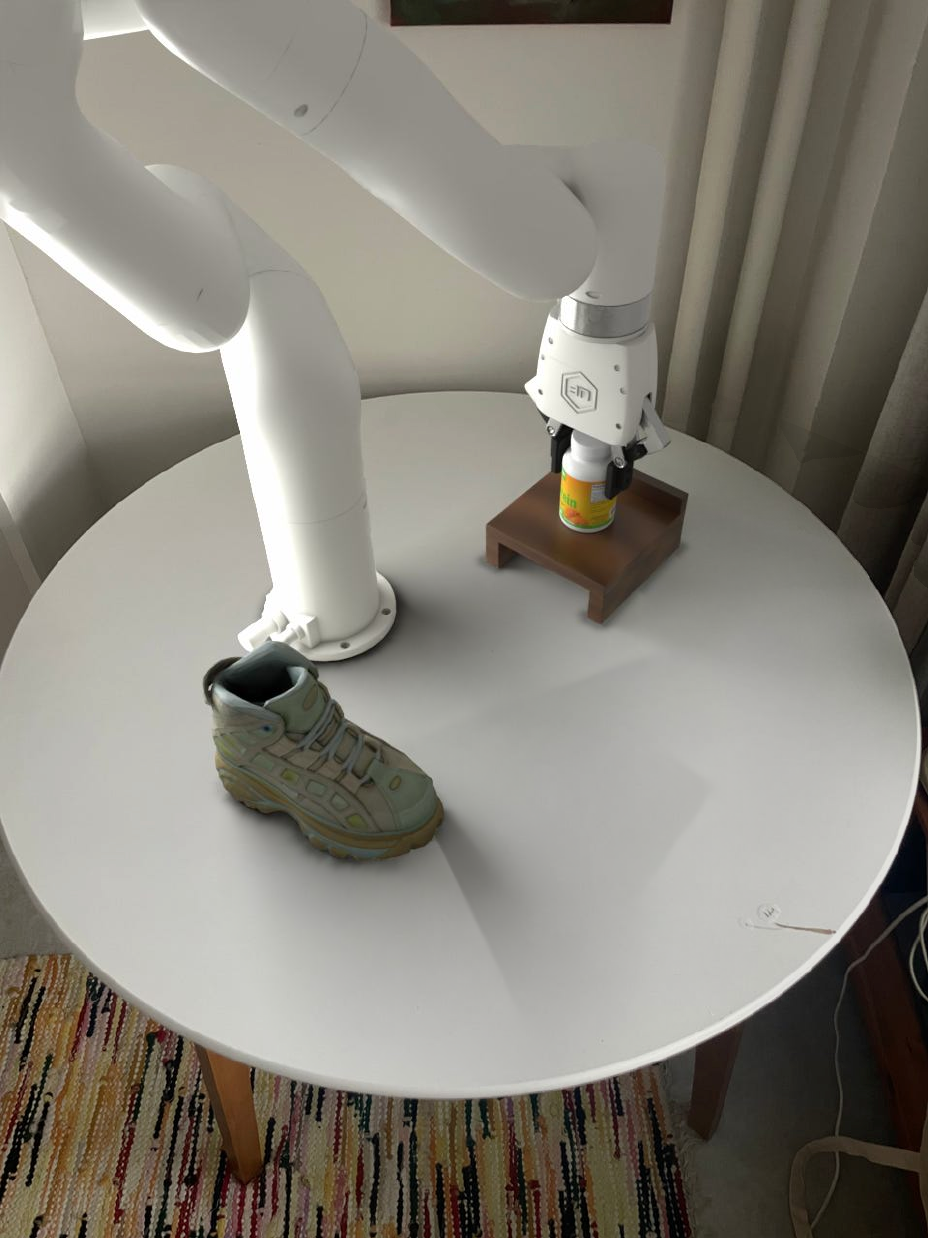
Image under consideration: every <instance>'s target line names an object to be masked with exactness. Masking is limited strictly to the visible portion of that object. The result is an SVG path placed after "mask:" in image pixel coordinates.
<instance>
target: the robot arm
mask: <svg viewBox="0 0 928 1238" xmlns="http://www.w3.org/2000/svg"><path fill="white" fill-rule="evenodd" d="M148 30H149V31H150V32H151V35H153V36H154V37H155V39H157V41H158V42H160V43H161V44H162V45H163V46H164V47H165V48H166V49H167V50H168V51H170V52H171V53H172V54H173V55H175V56H176V57H178V58H179V59H180V60H182V62H184V63H186V64H187V65H189V66H190V67H191V68H193V69H195V70H196V71H197V72H199V73H201V75H203V76H205V77H206V78H208V79H210V80H211V81H213V83H215V84H217V85H218V86H220V87H221V88H223V89H224V90H225V91H227V92H229V93H231V94H232V95H234V96H235V97H236V98H237V99H239V100H241V101H243V102H244V103H246V104H247V105H249V106H250V107H251V108H253V109H255V110H256V111H258V112H259V113H261V114H262V115H264V116H265V117H266V118H267V119H269V120H271V121H273V122H274V123H275V124H277V125H279V126H280V127H281V128H283V129H284V130H286V131H287V132H289V133H290V134H292V135H294V136H295V137H296V138H298V139H299V140H301V141H302V142H304V143H305V144H307V145H308V146H310V147H311V148H312V149H314V150H316V151H317V152H318V153H320V154H321V155H323V156H324V157H326V158H327V159H329V160H330V161H331V162H332V163H334V164H335V165H337V166H338V167H339V168H340V169H342V170H343V171H344V172H345V173H346V174H347V175H348V176H349V177H351V178H352V179H353V180H354V181H355V182H356V183H357V184H358V185H360V186H361V187H362V188H363V189H364V190H366V191H367V192H368V193H370V194H371V195H372V196H374V197H375V198H377V199H378V200H379V201H381V202H382V203H383V204H384V205H386V206H388V207H389V208H390V209H391V210H393V211H394V212H396V213H397V214H398V215H399V216H401V218H403V219H404V220H406V221H407V222H408V223H409V224H410V225H411V226H412V227H415V229H417V230H418V231H419V232H420V233H421V234H422V235H424V236H425V237H426V238H428V239H429V240H430V241H431V242H433V243H434V244H435V245H437V246H438V247H439V248H441V250H443V251H445V252H446V253H447V254H448V255H450V256H451V257H453V258H454V259H456V260H457V261H458V262H460V263H461V264H463V265H464V266H466V267H467V268H469V269H470V270H472V271H473V272H475V273H477V275H478V274H479V275H480V276H481V277H483V278H484V279H486V280H487V281H489V282H490V283H492V284H493V285H495V286H496V287H498V288H500V289H501V290H502V291H505V292H506V293H508V294H510V295H511V296H513V297H516V298H518V299H520V300H523V301H527V302H530V303H531V302H532V303H542V304H543V303H552V302H555V301H557V304H555V305H554V306H552V308H551V309H550V310H549V313H548V316H547V319H546V324H545V327H544V331H543V335H542V339H541V344H540V348H539V355H538V362H537V369H536V375H535V376H534V377H533V378H531V379H530V380H529V381H527V382H526V383H525V384H524V390H525V391H526V393H527V394H528V395H529V397H530V398H531V400H532V401H533V403H534V404H535V405H536V409H537V412H538V413H539V415H540V416H541V418H542V419H543V421H544V422H545V424H546V426H545V431H546V434H547V435H548V436H550V458H551V463H550V471H551V472H553V473H555V474H557V473H560V472H561V471H562V462H563V456H564V453H565V451H566V450H567V449H568V448H569V447H570V446H571V438H572V432H573V430H574V429H576V430H578V431H580V432H583V433H585V434H587V435H589V436H591V437H594V438H596V439H598V440H600V441H603V442H605V443H608V444H610V447H611V452H612V456H613V460H612V461H611V462H610V463H609V464H608V466H607V473H606V483H605V493H604V495H605V497H606V498H607V499H609V500H612V499H613V498H614V497H615V496H617V495H618V494H619V493H620V492H621V491H625V490H626V489H627V488H628V487H629V486H630V484H631V482H632V475H633V468H635V467H634V466H635V462H636V461H638V460H640V459H642V458H644V457H645V456H650V455H653V454H656V453H658V452H662V451H663V450H664V449H665V448H666V447H668V446H669V445H670V444H671V441H672V439H671V436H670V435H669V433H668V431H667V429H666V428H665V426H664V424H663V421H662V420H661V418H660V415H658V413H657V410H656V403H657V390H658V372H659V371H658V370H659V369H658V367H659V365H658V363H659V361H658V360H659V359H658V342H657V341H658V340H657V332H656V325H655V324H654V323H653V322H652V321H650V319H651V318H650V317H651V308H652V300H653V292H654V286H655V285H654V284H655V276H656V268H657V260H658V252H659V243H660V236H661V235H660V234H661V227H662V217H663V211H664V210H663V209H664V204H665V203H664V201H665V194H666V185H667V172H668V171H667V165H666V161H665V159H664V157H663V155H662V154H661V152H660V151H659V150H658V149H656V148H655V147H654V146H652V145H651V144H649V143H648V142H645V141H642V140H638V139H633V138H628V137H603V138H598V139H594V140H590V141H587V142H585V143H583V144H580V145H567V146H566V145H538V144H519V143H518V144H517V143H516V144H515V143H513V144H503V143H501V141H499V139H497V138H496V137H495V136H494V135H492V133H490V132H489V131H488V130H487V129H486V128H485V127H484V126H483V125H482V124H481V123H480V122H479V121H477V120H476V118H475V117H474V116H473V115H472V114H471V113H469V111H468V110H467V109H466V108H464V106H462V104H461V103H460V102H459V101H458V100H457V98H455V97H454V95H453V94H452V93H451V92H450V91H449V89H448V88H447V87H446V86H445V85H444V83H443V82H442V81H441V80H440V79H439V77H437V75H436V74H435V73H434V71H432V70H431V68H430V67H429V66H428V65H427V64H426V63H425V62H424V61H423V60H422V59H421V58H420V57H419V56H418V55H417V54H416V53H415V52H414V51H412V49H411V48H410V47H409V46H407V45H406V44H405V43H404V42H403V41H402V40H401V39H400V38H399V37H398V36H397V35H396V34H394V33H392V32H391V31H390V30H389V29H387V28H386V27H384V26H383V25H382V24H381V23H379V22H378V21H377V20H375V19H374V18H373V17H372V16H371V15H369V14H368V13H367V12H366V11H364V10H363V9H362V8H360V7H358V6H357V5H356V4H354V3H353V2H352V1H351V0H0V219H1V220H2V221H3V222H4V223H6V224H7V225H9V226H10V227H11V228H12V229H14V230H15V231H17V232H18V233H19V234H20V235H21V236H23V237H24V238H26V239H27V240H28V241H30V242H31V243H32V244H33V245H35V246H36V247H38V248H39V249H40V250H41V251H42V252H44V253H45V254H46V255H47V256H49V257H50V258H51V259H52V260H53V261H54V262H56V263H57V264H58V265H59V266H60V267H62V268H63V269H64V270H65V271H67V273H69V274H70V275H71V276H73V277H74V278H75V279H77V280H78V281H79V282H80V283H82V284H83V285H84V286H85V287H86V288H88V289H89V290H91V291H93V293H94V294H96V295H97V296H98V297H100V298H101V299H102V300H104V301H105V302H106V303H108V305H110V306H111V307H113V308H114V309H115V310H116V311H118V312H119V313H120V314H122V316H124V317H125V318H126V319H128V320H129V321H130V322H132V323H133V324H134V325H135V326H136V327H138V328H139V329H140V330H141V331H143V332H144V333H145V334H146V335H148V336H150V337H151V338H153V340H154V339H155V340H156V341H158V342H159V343H161V344H163V345H164V346H167V347H169V348H172V349H175V350H178V351H180V352H187V353H194V354H200V353H210V352H214V351H216V350H220V354H221V360H222V364H223V368H224V371H225V376H226V380H227V383H228V386H229V391H230V395H231V398H232V403H233V408H234V411H235V415H236V416H235V417H236V419H237V420H236V421H237V424H238V428H239V431H240V436H241V437H240V438H241V441H242V446H243V453H244V456H245V462H246V465H247V471H248V476H249V480H250V484H251V489H252V494H253V499H254V501H255V505H256V509H257V514H258V519H259V523H260V528H261V529H260V530H261V532H262V537H263V542H264V546H265V551H266V556H267V561H268V565H269V570H270V574H271V579H272V583H273V588H272V589H271V591H270V593H268V594H267V595H265V598H266V601H265V603H264V607H263V608H264V609H263V612H262V613H261V618H260V619H259V620H257V621H256V622H255V623H252V624H251V625H249V626H247V628H245V629H244V630H242V631H241V632H240V633H238V635H237V638H238V641H239V643H240V645H241V646H242V647H243V648H244V649H245V650H246V651H248V652H249V653H250V652H251V651H253V650H254V649H256V648H257V647H259V646H260V645H261V644H263V643H265V642H267V639H268V638H271V640H276V641H280V642H283V643H286V644H288V645H289V646H291V647H292V648H294V649H295V650H297V651H298V652H300V653H301V654H302V655H304V656H305V657H306V658H307V659H308V660H309V661H315V662H329V661H330V662H331V661H340V660H344V659H349V658H352V657H355V656H357V655H360V654H363V653H364V652H366V651H368V650H369V649H372V648H373V647H374V646H376V645H377V644H378V643H380V642H381V641H382V640H383V639H384V638H385V636H386V635H387V634H388V633H389V632H390V630H391V628H392V626H393V624H394V622H395V619H396V616H397V600H396V594H395V591H394V589H393V587H392V585H391V583H390V582H389V581H388V580H387V578H386V577H385V576H383V575H382V574H381V573H379V572H378V571H377V567H376V559H375V551H374V550H375V549H374V541H373V533H372V525H371V516H370V515H371V514H370V507H369V499H368V490H367V489H368V488H367V481H366V480H367V479H366V475H365V466H364V465H365V464H364V457H363V447H362V446H363V445H362V393H361V386H360V380H359V377H358V372H357V369H356V365H355V363H354V360H353V357H352V355H351V352H350V349H349V347H348V345H347V342H346V340H345V338H344V337H343V334H342V332H341V330H340V327H339V325H338V323H337V321H336V319H335V317H334V316H333V313H332V310H331V308H330V306H329V304H328V302H327V300H326V298H325V295H324V294H323V292H322V290H321V289H320V287H319V285H318V284H317V282H316V281H315V279H314V278H313V277H312V276H311V274H310V273H308V271H307V270H306V269H305V268H304V267H303V266H302V265H301V264H300V263H299V261H297V260H296V259H295V258H294V257H293V256H291V254H290V253H289V252H288V251H286V250H285V249H284V248H283V247H282V246H281V245H280V243H278V242H277V241H276V240H275V239H274V238H273V237H272V236H271V235H269V233H268V232H267V231H266V230H264V228H262V226H260V225H259V223H257V222H256V221H255V220H254V219H253V218H252V217H250V216H249V214H247V213H246V212H245V211H244V209H242V208H241V207H240V206H239V205H238V204H237V203H236V202H235V201H234V200H233V199H232V198H231V197H230V196H228V195H227V193H225V192H224V191H223V190H222V189H221V188H220V187H218V186H217V185H216V184H214V183H213V182H212V181H211V180H210V179H207V178H206V177H205V176H203V175H201V174H199V173H198V172H196V171H194V170H192V169H189V168H186V167H183V166H180V165H177V164H176V165H175V164H168V163H167V164H166V163H156V164H149V165H146V166H145V165H143V164H142V162H140V161H139V159H137V158H136V156H134V154H133V153H132V152H131V151H130V150H128V149H127V148H126V147H125V146H124V145H123V144H122V143H120V142H119V141H118V140H117V139H116V138H114V136H113V135H110V133H108V132H107V131H105V130H104V129H102V128H101V127H99V126H98V125H96V124H95V123H94V122H92V121H91V120H89V118H88V117H87V116H86V115H85V114H84V113H83V112H82V109H81V107H80V105H79V102H78V99H77V94H76V88H77V87H76V86H77V85H76V84H77V79H78V74H79V70H80V66H81V63H82V58H83V53H84V41H86V40H87V41H88V40H92V39H99V38H106V37H112V36H118V35H125V34H131V33H137V32H142V31H148ZM639 426H640V428H641V429H642V431H643V434H644V435H645V437H643V438H640V434H639V433H640V432H639Z"/></svg>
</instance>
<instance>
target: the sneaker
mask: <svg viewBox="0 0 928 1238" xmlns="http://www.w3.org/2000/svg"><path fill="white" fill-rule="evenodd" d="M319 678H320V673H319V669H318V667H317V666H316V665H315V664H314V663H313V662H312V660H308V659H307V658H306V657H305V656H304V655H302V654H301V653H300V652H298V651H297V650H295V649H294V648H292V647H291V646H289V645H288V644H286V643H283V642H280V641H276V640H272V639H271V640H268V641H267V640H266V641H264V642H263V643H262V644H260V645H259V646H258V647H257V648H255V649H254V650H253V651H251V652H250V651H249V653H247V654H246V655H244V656H231V657H226V658H222V659H220V660H218V661H216V662H214V663H213V664H212V665H211V666H210V668H209V669H207V671H206V673H205V674H204V675H203V677H202V681H201V685H202V698H203V700H204V704H205V705H207V706H209V707H211V711H212V714H211V716H212V717H211V718H212V728H211V733H212V734H211V735H212V739H213V743H214V745H215V756H214V757H215V758H214V764H215V769H216V771H217V772H218V777H219V779H220V781H221V783H222V786H223V788H224V789H225V791H227V792H229V793H230V795H231V797H232V798H233V799H234V800H235V801H236V802H243V803H244V804H245V806H246V807H248V808H251V809H254V810H256V809H257V810H258V811H259V812H260V813H262V814H263V813H264V814H270V813H273V812H280V811H281V812H284V813H286V814H288V815H289V816H290V817H291V818H293V820H295V822H297V824H298V827H299V829H300V831H301V834H302V836H303V837H304V838H307V839H309V842H310V844H311V846H312V847H313V848H315V849H317V850H319V851H320V852H322V851H328V852H329V854H331V856H333V857H336V858H339V859H348V858H349V857H350V856H351V857H353V858H354V859H355V860H356V862H367V861H370V860H374V859H375V860H378V861H385V860H390V859H394V858H398V857H399V858H400V857H402V856H405V855H408V854H409V853H410V852H411V850H417V849H421V848H424V847H425V846H427V845H429V843H430V842H432V841H433V839H435V836H436V835H437V832H438V828H440V827H441V826H442V824H443V823H444V822H443V821H444V819H445V818H444V817H445V808H444V805H443V802H442V800H441V798H440V797H439V796H438V794H437V791H436V789H435V786H434V779H433V778H432V777H431V775H428V774H427V773H426V772H425V771H424V770H423V769H422V768H421V767H420V766H419V765H418V764H417V763H416V762H414V761H413V760H412V759H411V758H410V757H409V756H408V755H407V754H406V753H405V752H403V750H402V751H401V750H400V749H398V748H396V747H394V746H392V745H391V744H390V743H388V742H387V741H385V740H384V739H382V738H381V737H378V736H376V735H374V734H372V733H370V732H368V731H367V730H365V729H363V728H362V727H361V726H359V725H358V724H356V723H354V722H352V720H349V719H348V718H346V717H345V712H344V710H343V707H342V706H341V705H340V703H339V702H338V701H337V700H336V699H335V698H332V696H331V693H330V691H329V688H328V687H327V685H325V683H323V681H321V680H319ZM210 686H211V687H210ZM209 688H210V689H209Z"/></svg>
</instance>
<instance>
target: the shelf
mask: <svg viewBox="0 0 928 1238" xmlns="http://www.w3.org/2000/svg"><path fill="white" fill-rule="evenodd" d="M561 478H562V471H561V472H560V473H557V474H555V473H553V472H551V470H550V471H548V472H547V473H546V474H545V475H544V476H543V477H541V479H539V480H537V482H536V483H534V484H532V486H531V487H529V488H528V489H527V490H526V491H525V492H523V493H522V494H521V495H519V496H518V497H517V498H515V500H514V501H512V502H511V503H510V504H509V505H507V506H506V507H505V508H504V509H503V510H501V511H500V512H499V513H497V514H496V515H495V516H494V517H493V518H491V519H490V520H489V521H488V522H487V523H486V524H485V562H486V563H488V564H490V565H492V566H494V567H495V568H497V569H499V568H500V567H502V565H504V564H505V563H506V562H507V561H509V560H510V559H511V558H512V557H513V556H514V555H516V553H518V554H519V555H521V556H524V557H525V558H527V559H529V560H530V561H532V562H535V563H536V564H538V565H540V566H542V567H544V568H546V569H547V570H549V571H551V572H553V573H555V574H557V575H559V576H560V577H562V578H564V579H566V580H568V581H570V582H572V583H573V584H575V585H577V586H578V587H581V588H583V589H585V590H587V591H588V592H589V594H588V604H587V613H586V614H587V615H586V617H587V618H588V619H589V620H592V621H593V622H595V623H597V624H599V625H602V624H603V623H604V622H605V621H606V620H607V619H608V618H609V617H610V616H611V615H612V614H614V612H615V611H616V610H617V609H618V608H619V607H620V606H621V605H622V604H623V603H624V602H625V601H626V600H627V599H628V598H629V597H630V596H631V595H633V593H634V592H635V591H636V590H637V589H638V588H639V587H640V586H641V585H642V584H644V582H645V581H646V580H648V578H649V577H650V576H651V575H652V574H653V573H654V572H655V571H657V569H659V568H660V567H661V565H662V564H663V563H665V561H667V559H669V558H670V557H671V555H673V554H674V552H676V550H677V549H679V547H680V544H681V538H682V533H683V527H684V521H685V516H686V509H687V506H688V499H689V492H687V491H685V490H682V489H680V488H677V486H674V485H672V484H669V483H667V482H665V481H663V480H661V479H658V478H656V477H654V476H652V475H650V474H648V473H646V472H643V471H641V470H639V469H637V468H635V467H633V475H632V482H631V484H630V486H629V487H628V488H627V489H626V490H625V491H621V492H620V493H619V494H618V495H617V498H616V507H615V515H614V519H613V521H612V522H611V524H610V525H609V526H608V527H606V528H605V529H603V530H600V531H597V532H591V533H585V532H579V531H576V530H573V529H571V528H569V527H568V526H566V525H565V524H564V523H563V522H562V520H561V518H560V514H559V507H560V493H561Z"/></svg>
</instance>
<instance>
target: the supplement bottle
mask: <svg viewBox="0 0 928 1238" xmlns="http://www.w3.org/2000/svg"><path fill="white" fill-rule="evenodd" d="M612 460H613V456H612V452H611V447H610V444H608V443H605V442H603V441H600V440H598V439H596V438H594V437H591V436H589V435H587V434H585V433H583V432H580V431H578V430H576V429H574V430H573V432H572V438H571V446H570V447H569V448H568V449H567V450H566V451H565V453H564V456H563V462H562V478H561V493H560V507H559V514H560V518H561V520H562V522H563V523H564V524H565V525H566V526H568V527H569V528H571V529H573V530H576V531H579V532H585V533H591V532H597V531H600V530H603V529H605V528H606V527H608V526H609V525H610V524H611V522H612V521H613V519H614V515H615V507H616V498H617V496H615V497H614V498H613V499H612V500H609V499H607V498H606V497H605V495H604V493H605V483H606V473H607V466H608V464H609V463H610V462H611V461H612Z"/></svg>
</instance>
